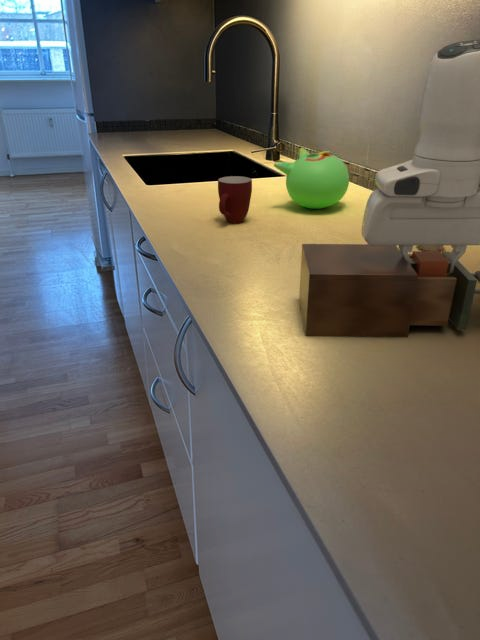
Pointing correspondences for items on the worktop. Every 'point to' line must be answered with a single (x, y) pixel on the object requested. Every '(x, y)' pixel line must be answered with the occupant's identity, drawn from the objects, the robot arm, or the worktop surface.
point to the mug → (234, 197)
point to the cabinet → (356, 290)
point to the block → (430, 263)
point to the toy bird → (315, 179)
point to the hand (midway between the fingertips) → (427, 271)
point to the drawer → (445, 297)
